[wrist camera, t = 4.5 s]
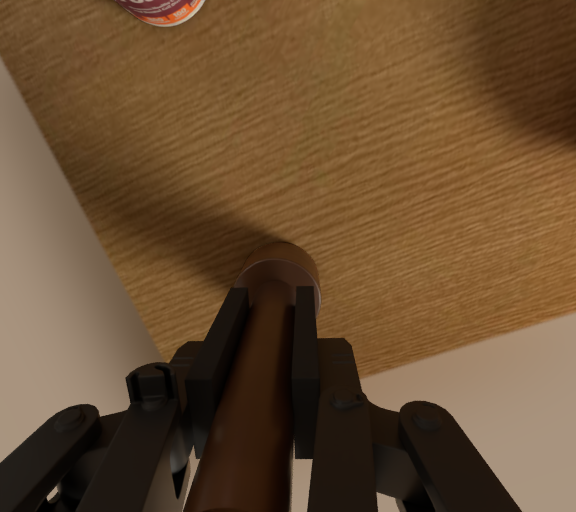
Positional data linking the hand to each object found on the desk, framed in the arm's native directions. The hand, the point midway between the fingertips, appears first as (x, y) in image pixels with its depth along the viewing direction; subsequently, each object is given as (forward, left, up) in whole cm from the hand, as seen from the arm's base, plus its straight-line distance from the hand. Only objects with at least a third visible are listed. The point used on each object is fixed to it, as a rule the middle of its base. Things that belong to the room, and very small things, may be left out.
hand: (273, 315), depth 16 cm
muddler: (0, 0, -4) cm, 4 cm away
